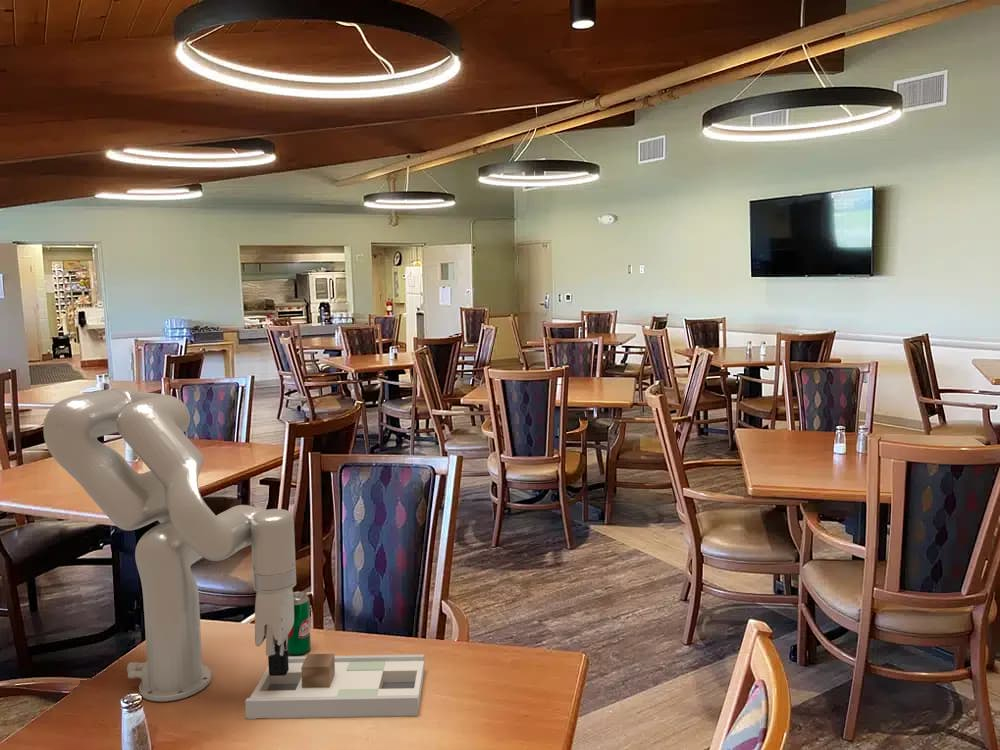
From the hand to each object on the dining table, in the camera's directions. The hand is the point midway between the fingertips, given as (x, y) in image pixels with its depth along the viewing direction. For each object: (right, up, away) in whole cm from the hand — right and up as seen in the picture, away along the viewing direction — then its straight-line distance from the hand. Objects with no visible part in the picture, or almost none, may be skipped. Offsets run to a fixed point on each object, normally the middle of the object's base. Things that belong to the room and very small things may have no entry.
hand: (278, 673), depth 137 cm
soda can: (-1, -3, +17) cm, 18 cm away
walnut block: (+7, -2, 0) cm, 7 cm away
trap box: (+11, -4, +1) cm, 12 cm away
